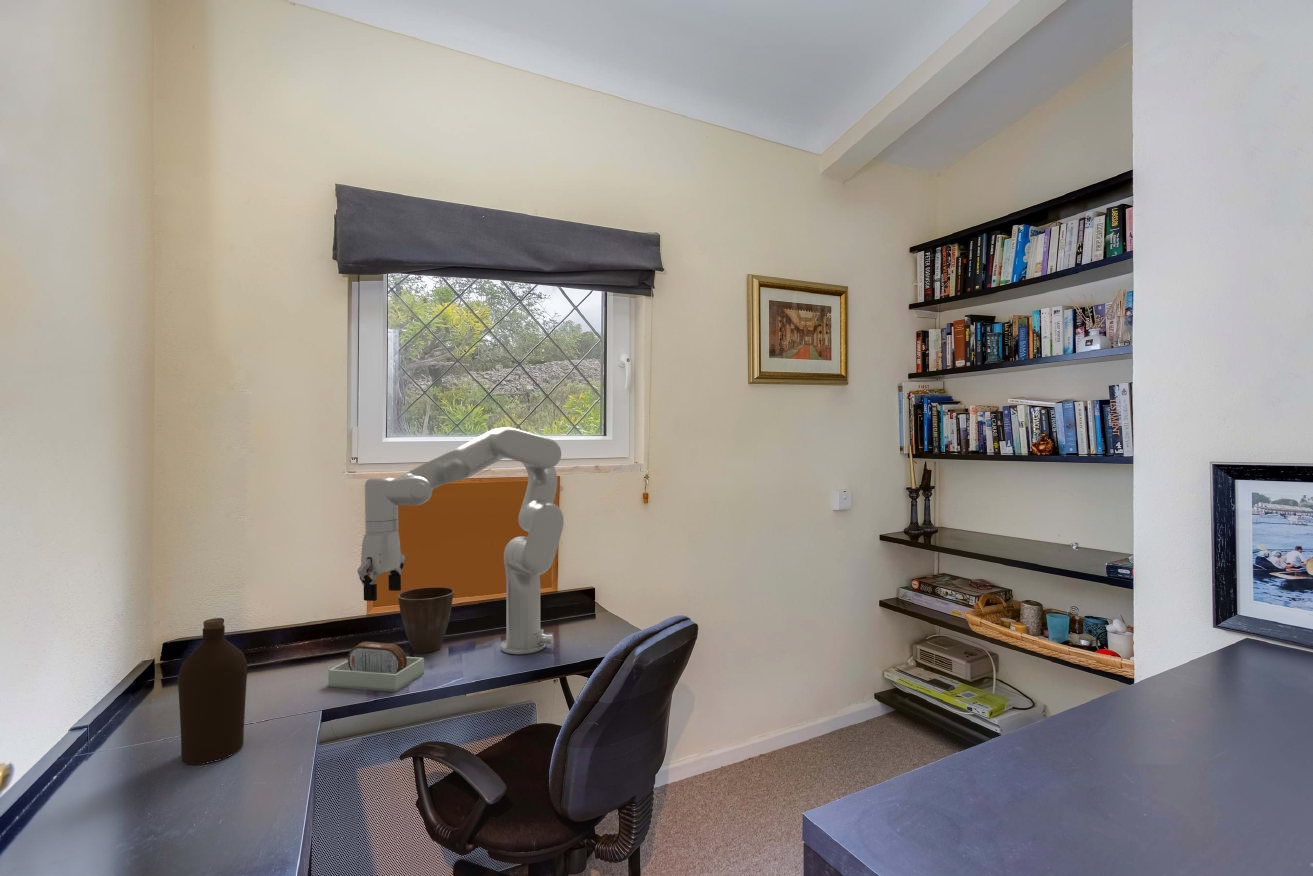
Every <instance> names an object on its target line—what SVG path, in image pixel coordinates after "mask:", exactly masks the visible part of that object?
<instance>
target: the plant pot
mask: <svg viewBox="0 0 1313 876" xmlns="http://www.w3.org/2000/svg"><path fill="white" fill-rule="evenodd" d="M454 591H455V590H454V589H453V588H450V587H444V586H441V587H440V586H434V587H433V586H432V587H431V586H430V587H421V588H419V587H418V588H414V589H409V590H405V591H403V592H401V593H399V594H397V599H398V604H399V605H398V607H399V612H400V616H401V621H402V624H403V628H404V631H405V634H406V635H405V636H406V638H407V640H408V642H409V645H410V648H411V650H412V652H414V653H416V654H427V653H432V652H435V651H438V650H439V649H441V646H442V643H443V641H444V637H445V635H446V632H447V628H448V625H449V620H450V616H451V613H452V607H453V600H454Z"/></svg>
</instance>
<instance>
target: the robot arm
mask: <svg viewBox="0 0 1313 876" xmlns="http://www.w3.org/2000/svg"><path fill="white" fill-rule="evenodd" d="M561 458H562V450H561V447H560V445H559V444H558V443H557V442H556V441H555V440H553V439H552V438H550V437H545V436H541V435H538V434H534V433H531V432H527V431H524V430H521V429H517V428H514V427H499V428H498V427H497V428H493V429H490V430H489V431H487V432H485V433H483V434H481V435H479V436H477V437H475V438H474V439H472V440H470V441H468V442H467V443H464V444H462V445H459V447H456V448H454V449H452V450H450V451H448V452H446V453H443V454H441V455H440V456H438V457H436V458H433V459H432V460H430V461H427V462H425V463H422V464H421V465H418V466H416V467H414V468H413V469H411V470H409V471H407V472H406V473H403V474H402V475H400V476H398V478H394V477H372V478H368V479H367V480H366V481H365V483H364V513H365V514H364V516H365V517H364V519H365V521H364V522H365V523H364V524H365V527H364V528H365V530H364V531H365V534H364V535H363V537H362V538H363V539H362V544H361V553H360V554H361V556H360V565H359V567H358V568H357V574H358V577H359V580H360V581H361V584H362V586H363V600H364V601H368V602H375V601H377V600H378V588H377V587H378V585H377V583H376V581H377V579H378V576H380V575H383V574H386V573H389V574H388V590H389V591H392V592H393V591H394V592H395V591H396V592H400V591H401V590H402V581H401V580H402V574H403V568H404V562H405V559H406V555H405V554H403V553H402V550H401V540H400V533H399V505H400V506H403V505H405V506H421V505H423V504H426V503H427V502H428V501H429V500H430V499H431V497H432V495H433V490H434V489H437V488H438V487H440V486H443V485H446V484H449V483H453V482H457V481H462V480H465V479H467V478H470V477H472V476H474V475H477V473H479V472H481V471H483V470H484V469H486V468H488V467H490V466H492V465H494V464H495V463H498V462H499V461H501V460H502V459H508V460H512V461H516V462H519V463H521V464H522V465H523V467H524V468H525V469H526V472H527V477H528V481H527V487H526V491H525V494H524V498H523V500H522V504H521V507H520V510H519V513H518V525H519V527H520V528H521V530H522V531H523V530H524V531H525V532H527V533H528V534H527V536H523V535H521V536H516V537H514V538H512V539H510V541H509V542H508V543H507V544H506V546H505V548H504V551H503V564H504V569H505V578H506V579H505V581H506V600H505V601H506V603H505V604H506V605H505V606H506V609H505V610H506V619H505V620H506V640H504V641H503V642H502V643H501V644H500V650H501V651H502V652H504V653H506V654H509V655H510V654H511V655H525V654H526V655H527V654H533V653H537V652H539V651H541V650H544V648H546V646H547V645H553V644H554V641H555V639H554V637H553V634H545V633H544V628H543V629H541V578H540V576H541V575H543V574H545V573H546V572H548V571H549V570H550V568H551V567H552V565H553V563H554V560H555V556H556V554H557V552H558V547H559V543H560V540H561V536H562V533H563V529H564V522H565V520H564V513H563V512H562V510H561V508H560V507H559V506H558V505H557V504H555V503H554V502H555V498H556V493H557V491H558V490H557V489H558V475H557V471H556V466H557V464H559V462H560V461H561Z"/></svg>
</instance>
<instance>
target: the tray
mask: <svg viewBox="0 0 1313 876" xmlns="http://www.w3.org/2000/svg"><path fill="white" fill-rule="evenodd" d="M406 659H407V665H406V668H404V669H403V670H401V671H399V672H398V673H396V674H389V673H375V672H362V671H351V670H350V668H349V664H348V659H347V660H345V661H343V662H341V663H339V664H337V665H335V666H333V667H332V668H329V669H328V673H327V674H328V675H327V676H328V684H327V685H328V687H329V688H339V689H340V688H341V689H350V690H351V689H354V690H363V691H364V690H365V691H366V690H367V691H374V692H375V691H376V692H390V693H397V692H398V691H400V690H402V689H403V688H404V687H406V686H408V685H409V684H411V683H412V682H414V681H415V680H416V679H418V678H420V677H422V676H423V675H424V674H425V657H418V656H417V657H416V656H414V657H413V656H406Z"/></svg>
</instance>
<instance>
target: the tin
mask: <svg viewBox="0 0 1313 876" xmlns="http://www.w3.org/2000/svg"><path fill="white" fill-rule="evenodd" d="M406 657H407V656H406V653H405V651H404V650H403V649H402V647H400V646H399V645H396V644H395V643H386V642H374V641H362V642H359V643H358V644H357V645H356V646H354V647H353V648H352V649H351V650H350V651H349V653H348V655H347V660H348V664H349V668H350V670H351V671H362V672H375V673H389V674H396V673H398V672H399V671H401V670H403V669H404V668H406V665H407V659H406Z"/></svg>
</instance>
